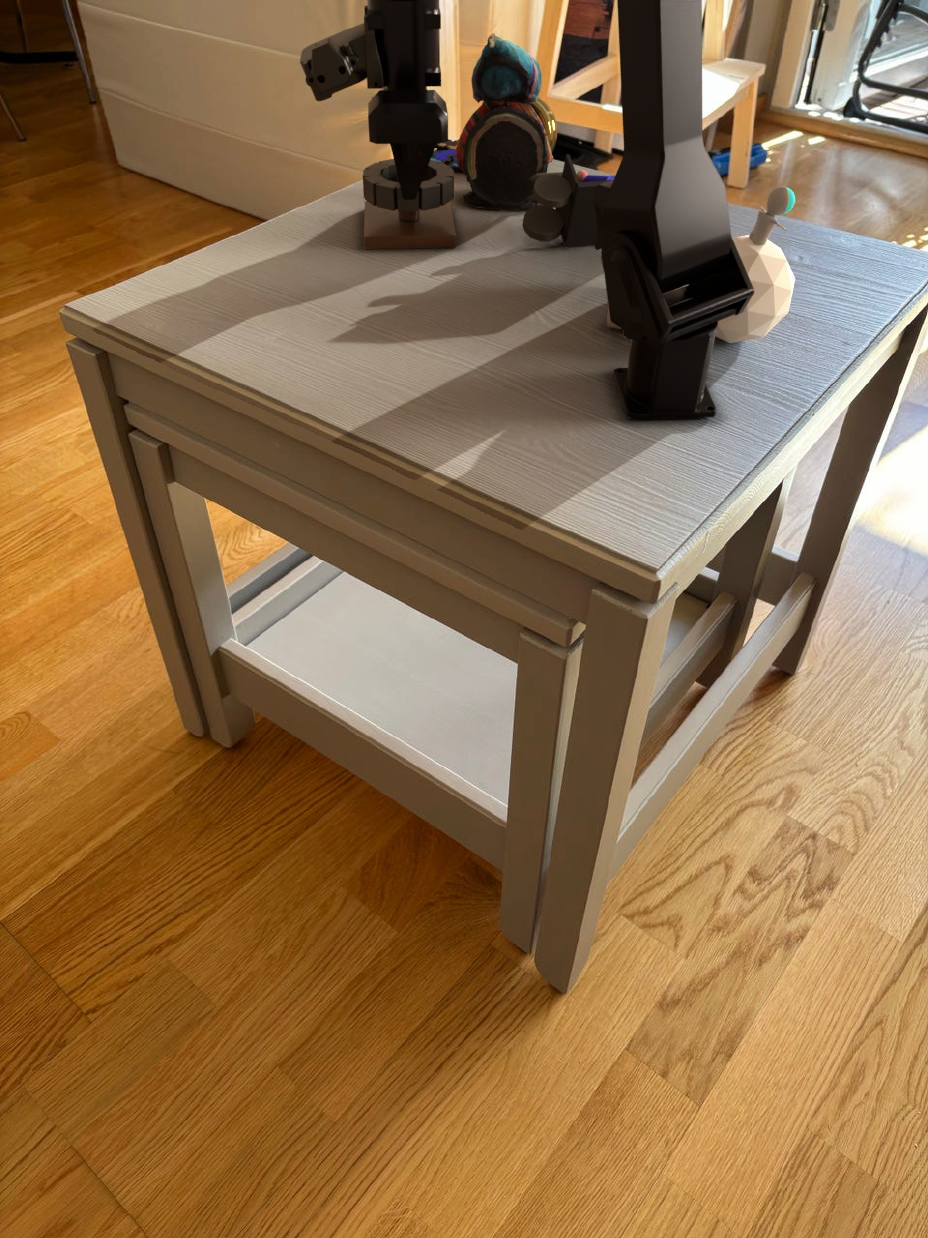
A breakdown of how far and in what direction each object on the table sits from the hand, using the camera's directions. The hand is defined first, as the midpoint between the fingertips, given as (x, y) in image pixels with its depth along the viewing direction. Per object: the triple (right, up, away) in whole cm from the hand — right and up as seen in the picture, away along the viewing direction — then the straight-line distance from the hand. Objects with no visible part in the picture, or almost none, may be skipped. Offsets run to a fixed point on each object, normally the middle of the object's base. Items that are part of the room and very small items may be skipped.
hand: (409, 194), depth 87 cm
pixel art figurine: (+2, +10, +17) cm, 20 cm away
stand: (0, -1, +6) cm, 6 cm away
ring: (0, +1, +3) cm, 4 cm away
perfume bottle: (+25, -16, -9) cm, 31 cm away
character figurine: (+18, -2, +5) cm, 19 cm away
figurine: (+9, +5, +12) cm, 15 cm away
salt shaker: (+10, +11, +12) cm, 19 cm away
